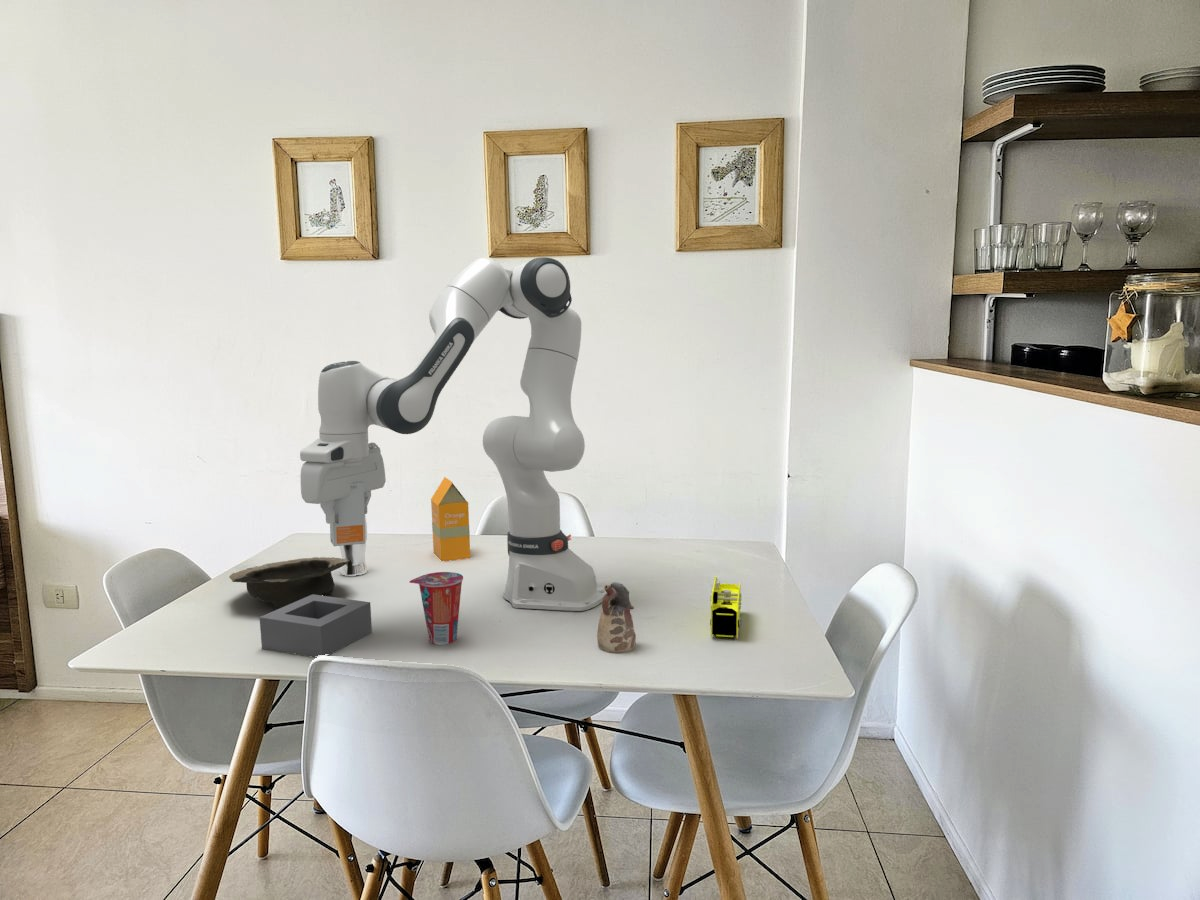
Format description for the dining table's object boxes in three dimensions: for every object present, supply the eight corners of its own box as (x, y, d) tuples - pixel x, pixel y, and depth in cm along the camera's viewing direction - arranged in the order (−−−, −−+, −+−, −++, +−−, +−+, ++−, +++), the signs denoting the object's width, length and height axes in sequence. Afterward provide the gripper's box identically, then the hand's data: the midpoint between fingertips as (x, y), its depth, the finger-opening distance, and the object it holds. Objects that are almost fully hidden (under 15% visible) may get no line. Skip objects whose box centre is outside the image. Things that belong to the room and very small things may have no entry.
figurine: (644, 647, 151) (643, 583, 149) (611, 656, 147) (610, 591, 145) (621, 635, 157) (621, 574, 155) (590, 643, 153) (589, 581, 151)
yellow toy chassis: (713, 611, 170) (713, 572, 169) (741, 612, 169) (742, 573, 168) (708, 640, 154) (708, 597, 153) (739, 642, 153) (739, 598, 152)
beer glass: (364, 577, 196) (360, 515, 194) (335, 577, 197) (331, 515, 194) (373, 568, 203) (369, 508, 201) (344, 568, 204) (341, 509, 201)
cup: (450, 628, 162) (447, 568, 160) (474, 639, 156) (471, 578, 154) (407, 640, 156) (404, 578, 154) (430, 653, 150) (427, 589, 148)
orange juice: (462, 549, 219) (459, 475, 217) (470, 558, 211) (467, 481, 209) (432, 553, 216) (429, 478, 213) (440, 562, 208) (437, 483, 205)
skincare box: (333, 547, 157) (331, 484, 155) (330, 542, 161) (327, 481, 159) (366, 543, 160) (364, 482, 158) (362, 539, 163) (359, 479, 162)
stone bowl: (307, 621, 167) (300, 576, 165) (206, 619, 174) (199, 576, 173) (374, 582, 190) (369, 543, 189) (283, 582, 198) (277, 545, 196)
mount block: (371, 632, 161) (370, 602, 160) (322, 658, 148) (320, 626, 147) (314, 623, 166) (312, 594, 165) (261, 648, 153) (259, 617, 152)
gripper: (366, 440, 168) (368, 507, 170) (293, 452, 150) (296, 528, 151) (391, 442, 166) (394, 510, 168) (320, 454, 147) (323, 531, 149)
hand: (347, 518), depth 159 cm, fingers closed on skincare box, 7 cm apart
